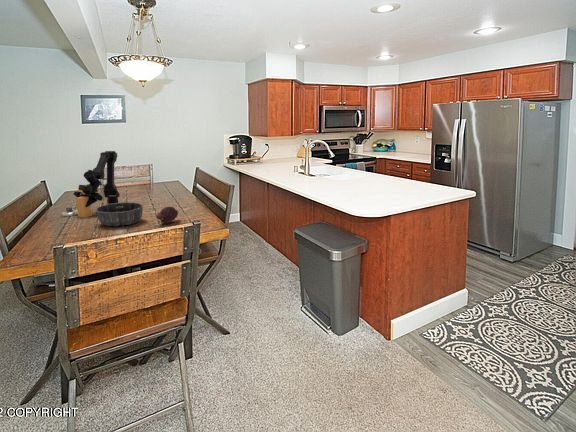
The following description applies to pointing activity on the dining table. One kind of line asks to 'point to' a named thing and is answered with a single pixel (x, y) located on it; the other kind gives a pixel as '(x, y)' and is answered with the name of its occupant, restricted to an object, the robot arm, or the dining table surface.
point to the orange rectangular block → (83, 207)
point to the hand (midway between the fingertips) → (82, 206)
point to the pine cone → (167, 215)
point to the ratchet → (70, 212)
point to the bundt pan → (119, 213)
